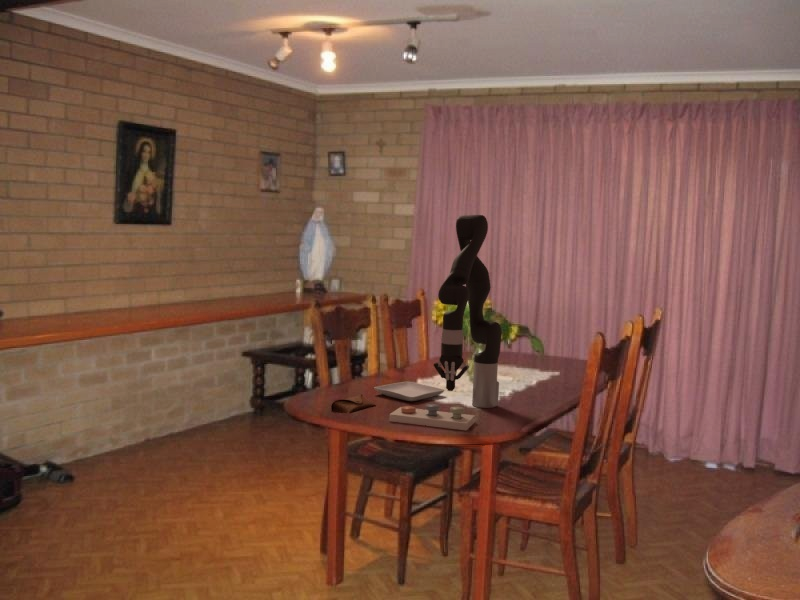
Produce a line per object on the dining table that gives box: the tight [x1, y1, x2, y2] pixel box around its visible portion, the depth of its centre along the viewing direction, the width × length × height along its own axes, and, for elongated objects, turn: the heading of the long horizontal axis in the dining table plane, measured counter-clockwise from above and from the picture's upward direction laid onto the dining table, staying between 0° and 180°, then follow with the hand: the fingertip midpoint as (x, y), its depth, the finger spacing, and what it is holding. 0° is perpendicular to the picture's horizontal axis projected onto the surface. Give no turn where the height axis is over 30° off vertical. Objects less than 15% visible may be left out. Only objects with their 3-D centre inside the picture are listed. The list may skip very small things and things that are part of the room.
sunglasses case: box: [330, 393, 377, 414], centre depth 296 cm, size 18×7×7 cm
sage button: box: [449, 406, 466, 420], centre depth 275 cm, size 5×5×4 cm
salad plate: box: [373, 381, 446, 402], centre depth 319 cm, size 21×21×3 cm
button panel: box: [388, 406, 476, 431], centre depth 279 cm, size 28×12×2 cm, turn 71°
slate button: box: [424, 403, 441, 417], centre depth 278 cm, size 5×5×4 cm
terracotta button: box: [400, 405, 417, 414], centre depth 281 cm, size 5×5×4 cm
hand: (450, 390), depth 276 cm, fingers closed
